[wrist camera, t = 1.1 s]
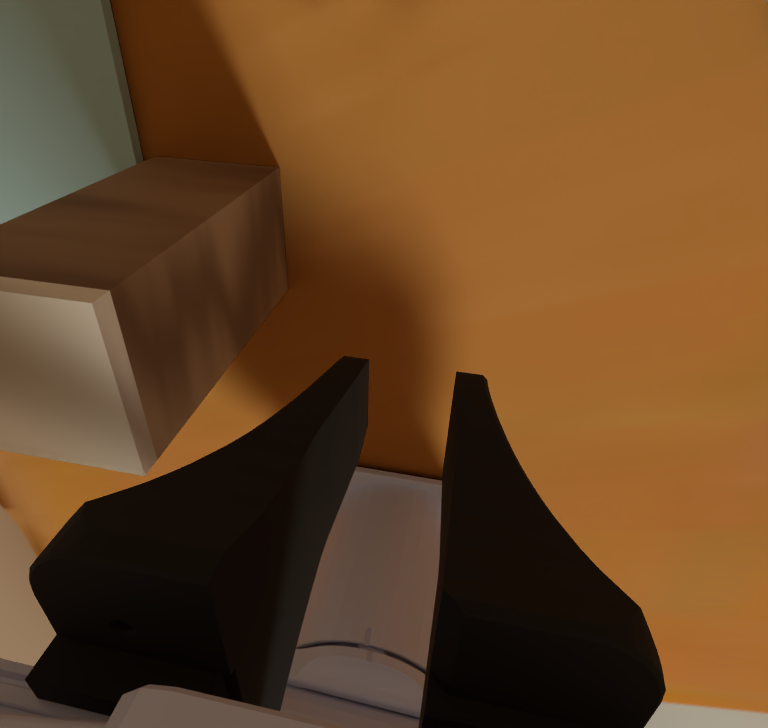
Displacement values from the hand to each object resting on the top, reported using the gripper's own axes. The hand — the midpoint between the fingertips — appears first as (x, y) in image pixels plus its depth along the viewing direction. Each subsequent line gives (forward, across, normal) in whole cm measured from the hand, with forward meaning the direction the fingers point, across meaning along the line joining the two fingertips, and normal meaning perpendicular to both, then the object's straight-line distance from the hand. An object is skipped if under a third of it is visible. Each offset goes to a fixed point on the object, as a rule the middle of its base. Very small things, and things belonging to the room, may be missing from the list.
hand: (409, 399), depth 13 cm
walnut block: (+9, +9, 0) cm, 13 cm away
